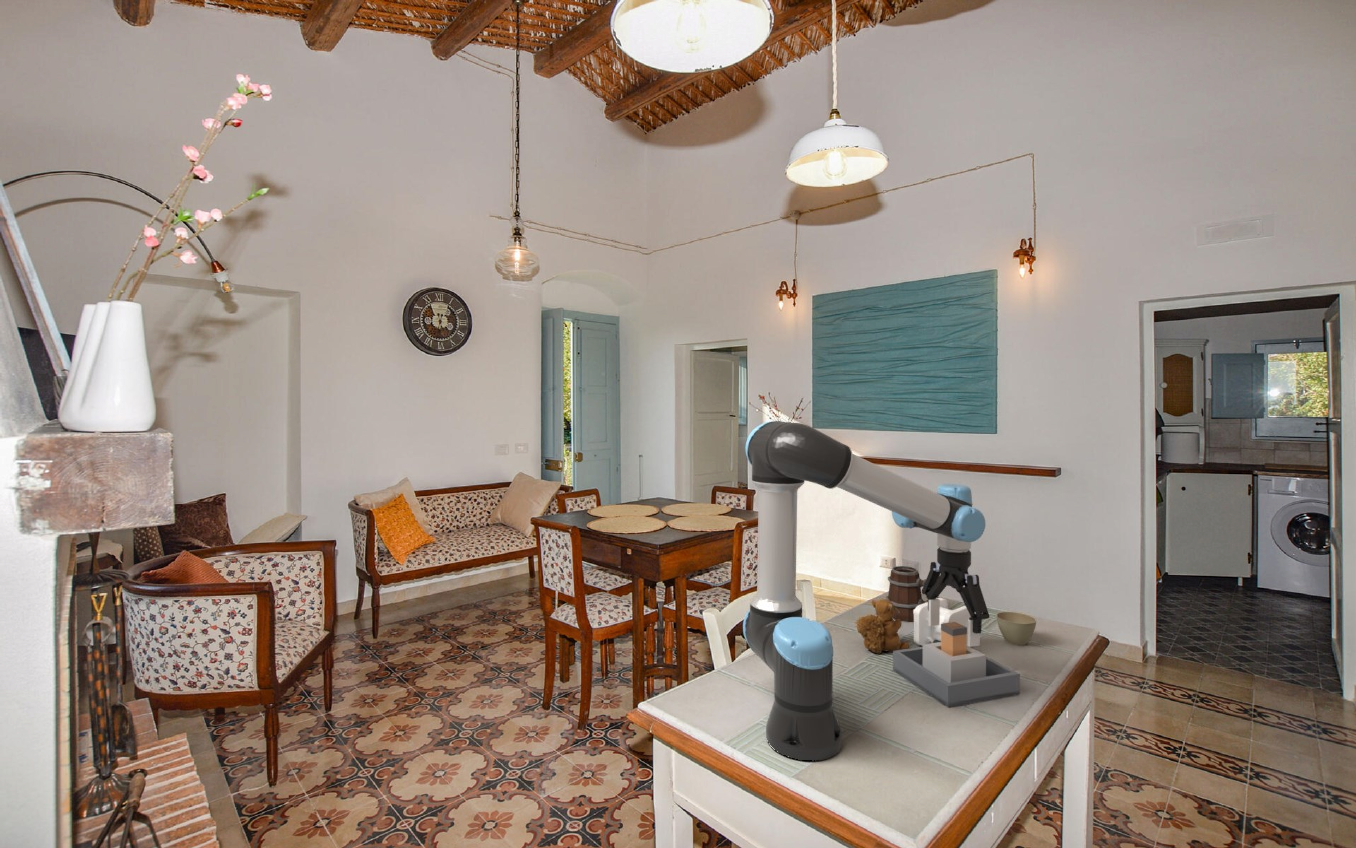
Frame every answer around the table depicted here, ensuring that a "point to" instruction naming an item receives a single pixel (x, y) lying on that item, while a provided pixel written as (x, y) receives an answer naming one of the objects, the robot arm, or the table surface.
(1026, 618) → the beige bowl
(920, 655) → the box
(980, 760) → the table surface
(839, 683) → the table surface
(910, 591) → the mug
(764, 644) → the robot arm
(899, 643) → the stuffed squirrel
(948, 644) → the plug
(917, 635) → the cable organizer
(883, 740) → the table surface
